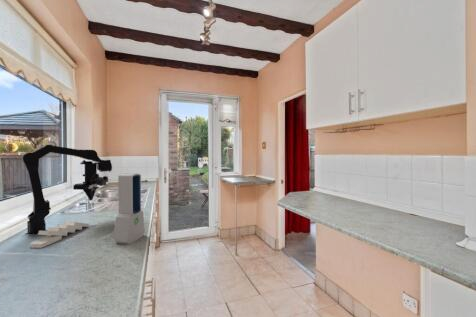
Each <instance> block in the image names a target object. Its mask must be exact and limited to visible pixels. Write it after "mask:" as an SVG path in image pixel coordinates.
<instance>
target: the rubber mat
mask: <svg viewBox="0 0 476 317" xmlns="http://www.w3.org/2000/svg"><path fill="white" fill-rule="evenodd" d="M98 226H99V225H98V224H97V225H96V224H89V225H88V227H82V230H75V233H67V236H62V239H61V240H58V241H56V242H57V243H62V242H64V241H66V240H69V239H71V238H73V237H75V236H78V235H80V234H83V233H85V232H87V231H89V230H91V229H93V228H94V229H95V227H98ZM43 238H44V237H43ZM43 238H41V239H43ZM38 240H39V239H38ZM38 240H36V241H38ZM56 242H55V243H56Z"/></svg>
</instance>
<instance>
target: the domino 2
mask: <svg viewBox="0 0 476 317" xmlns="http://www.w3.org/2000/svg"><path fill="white" fill-rule="evenodd" d="M61 239H62V235H47V236H45V237H43V239H42V238H40V239H38V241H37V240H35V241H33V242H30V243H29V248H31V249H32V248H33V249H36V248H37V249H42V248H44V247H47V246H49V245H51V244H54V243H56V241H58V240H61Z"/></svg>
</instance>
